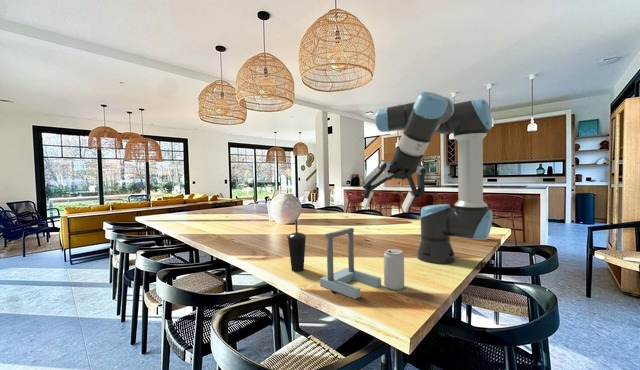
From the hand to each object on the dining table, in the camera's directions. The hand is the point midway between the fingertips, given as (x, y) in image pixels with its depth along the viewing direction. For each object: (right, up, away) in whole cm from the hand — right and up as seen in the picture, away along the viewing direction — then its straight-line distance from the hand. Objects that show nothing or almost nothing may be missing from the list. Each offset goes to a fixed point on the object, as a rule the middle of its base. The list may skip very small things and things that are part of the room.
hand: (384, 207), depth 88 cm
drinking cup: (-30, -27, +21) cm, 45 cm away
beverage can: (+4, -27, +2) cm, 27 cm away
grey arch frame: (-10, -27, +4) cm, 29 cm away
